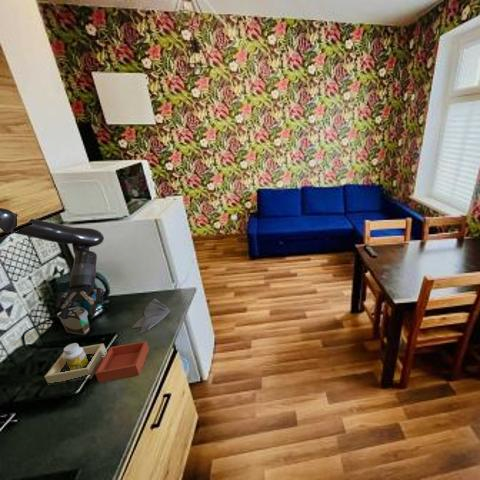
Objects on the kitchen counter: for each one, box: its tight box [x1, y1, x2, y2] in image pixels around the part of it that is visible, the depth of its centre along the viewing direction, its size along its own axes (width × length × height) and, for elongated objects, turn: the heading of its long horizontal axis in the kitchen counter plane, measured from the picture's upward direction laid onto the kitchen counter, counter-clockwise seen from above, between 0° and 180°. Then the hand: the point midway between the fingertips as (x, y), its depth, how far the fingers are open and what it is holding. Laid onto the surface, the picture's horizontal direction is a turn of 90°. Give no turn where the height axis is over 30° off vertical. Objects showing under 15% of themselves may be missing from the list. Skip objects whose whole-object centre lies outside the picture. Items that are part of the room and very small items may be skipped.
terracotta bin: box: [94, 340, 150, 384], centre depth 101 cm, size 13×13×5 cm
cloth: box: [131, 297, 171, 334], centre depth 129 cm, size 26×14×2 cm, turn 12°
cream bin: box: [44, 343, 108, 384], centre depth 99 cm, size 13×13×5 cm
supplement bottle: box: [63, 342, 88, 370], centre depth 98 cm, size 5×5×10 cm
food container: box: [56, 306, 91, 336], centre depth 118 cm, size 12×6×10 cm, turn 80°
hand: (78, 317), depth 102 cm, fingers open, 8 cm apart
